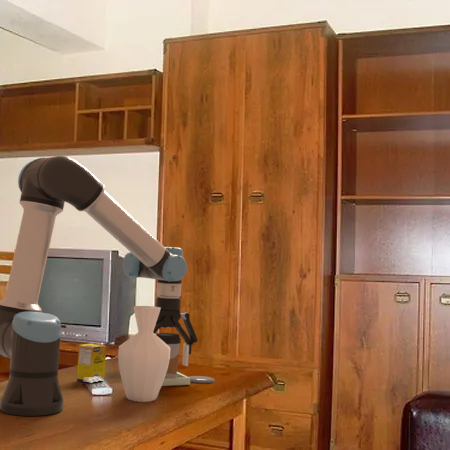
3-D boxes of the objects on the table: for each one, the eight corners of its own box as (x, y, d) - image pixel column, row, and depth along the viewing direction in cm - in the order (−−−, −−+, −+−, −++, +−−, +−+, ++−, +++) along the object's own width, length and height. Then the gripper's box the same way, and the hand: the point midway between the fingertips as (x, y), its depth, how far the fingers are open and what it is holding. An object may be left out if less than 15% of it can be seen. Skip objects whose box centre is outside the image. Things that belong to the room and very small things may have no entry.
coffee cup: (174, 387, 208) (177, 337, 208) (147, 385, 209) (150, 335, 210) (181, 382, 216) (183, 334, 216) (155, 380, 217) (157, 331, 218)
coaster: (193, 384, 214) (193, 382, 214) (181, 378, 222) (181, 376, 222) (219, 382, 219) (219, 380, 219) (206, 377, 227) (206, 375, 227)
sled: (150, 386, 206) (152, 345, 206) (122, 370, 228) (124, 334, 228) (189, 384, 212) (192, 345, 212) (159, 369, 234) (161, 333, 234)
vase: (155, 406, 182) (161, 311, 183) (106, 400, 186) (112, 306, 187) (175, 396, 196) (180, 307, 197) (129, 390, 200) (134, 303, 201)
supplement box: (104, 381, 211) (106, 345, 211) (90, 384, 206) (93, 347, 206) (90, 378, 214) (92, 342, 214) (76, 381, 209) (78, 344, 209)
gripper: (134, 297, 205) (130, 369, 205) (210, 298, 217) (206, 366, 216) (126, 295, 212) (122, 365, 211) (199, 296, 223) (196, 362, 223)
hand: (165, 366), depth 214 cm, fingers open, 13 cm apart
